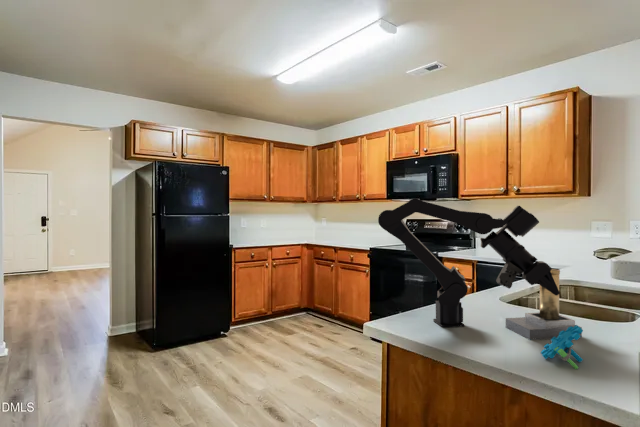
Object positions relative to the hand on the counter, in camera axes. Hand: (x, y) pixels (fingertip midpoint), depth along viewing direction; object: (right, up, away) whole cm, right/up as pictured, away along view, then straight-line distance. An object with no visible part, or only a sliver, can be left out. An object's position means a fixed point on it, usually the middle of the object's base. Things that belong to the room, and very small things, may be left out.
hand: (555, 292), depth 99 cm
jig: (-3, -10, 0) cm, 11 cm away
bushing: (-1, -7, +1) cm, 7 cm away
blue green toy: (-10, -11, -18) cm, 23 cm away
